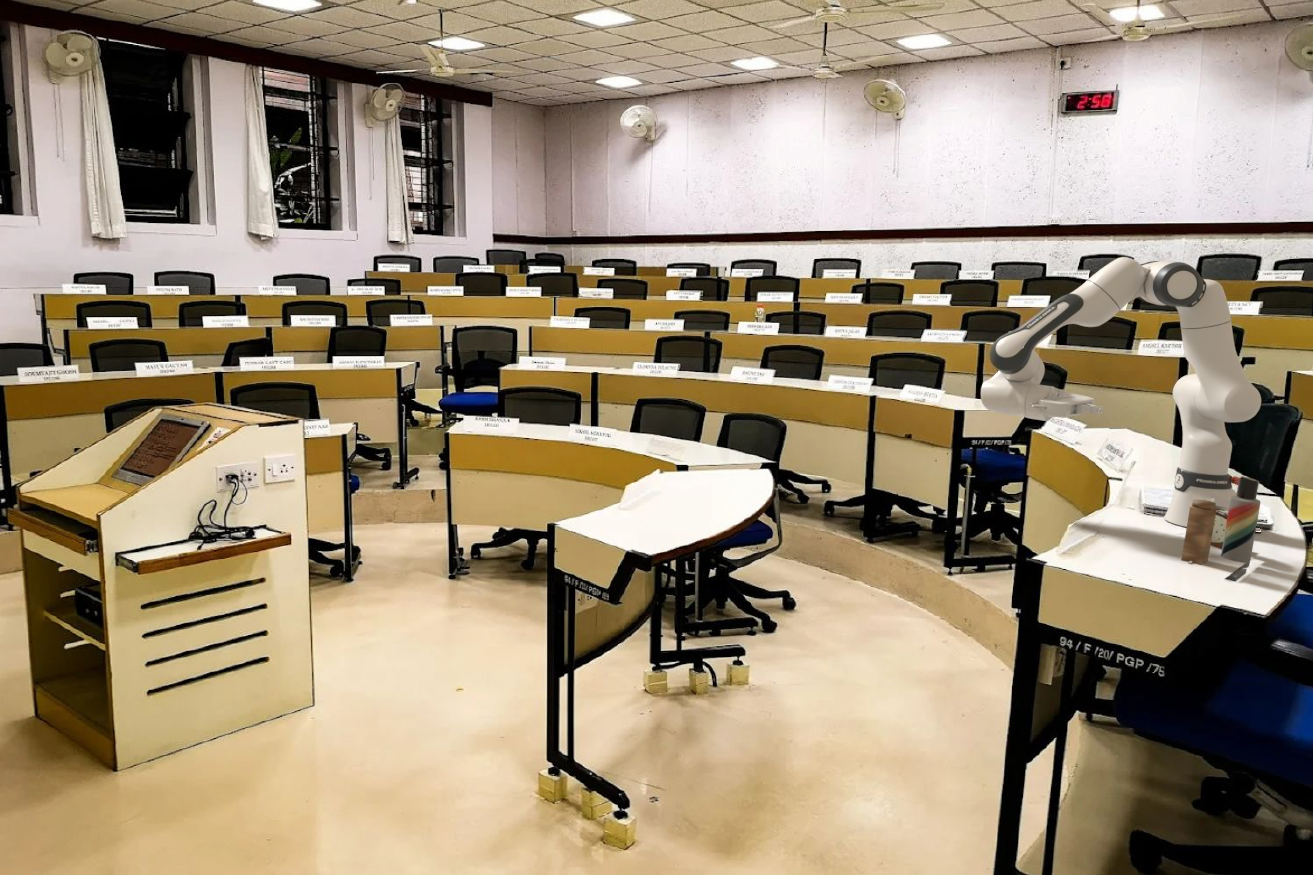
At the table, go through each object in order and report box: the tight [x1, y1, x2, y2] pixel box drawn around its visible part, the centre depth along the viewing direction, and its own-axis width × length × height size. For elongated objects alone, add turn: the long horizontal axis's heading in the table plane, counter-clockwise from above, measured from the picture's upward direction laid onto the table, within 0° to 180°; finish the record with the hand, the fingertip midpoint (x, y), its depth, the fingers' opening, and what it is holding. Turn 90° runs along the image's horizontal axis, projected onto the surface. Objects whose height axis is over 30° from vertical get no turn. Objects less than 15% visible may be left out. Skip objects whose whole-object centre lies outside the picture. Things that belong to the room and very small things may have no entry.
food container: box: [1210, 505, 1229, 550], centre depth 222 cm, size 12×6×10 cm, turn 17°
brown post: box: [1181, 500, 1217, 565], centre depth 207 cm, size 4×8×13 cm, turn 136°
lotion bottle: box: [1220, 475, 1261, 569], centre depth 210 cm, size 6×6×20 cm
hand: (1100, 410), depth 229 cm, fingers closed
